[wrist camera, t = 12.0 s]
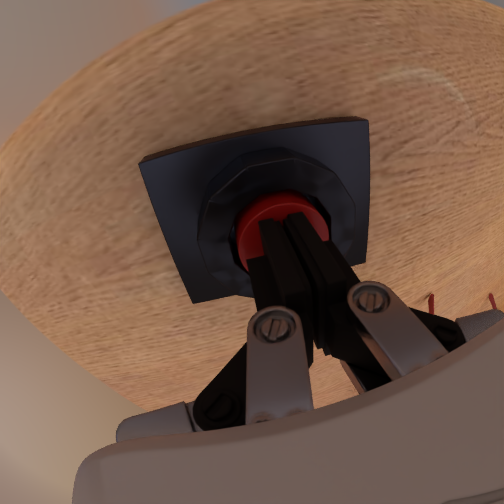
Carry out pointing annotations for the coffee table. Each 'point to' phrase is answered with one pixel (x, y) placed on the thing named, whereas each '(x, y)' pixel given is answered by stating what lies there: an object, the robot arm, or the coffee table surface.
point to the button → (278, 209)
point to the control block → (257, 194)
